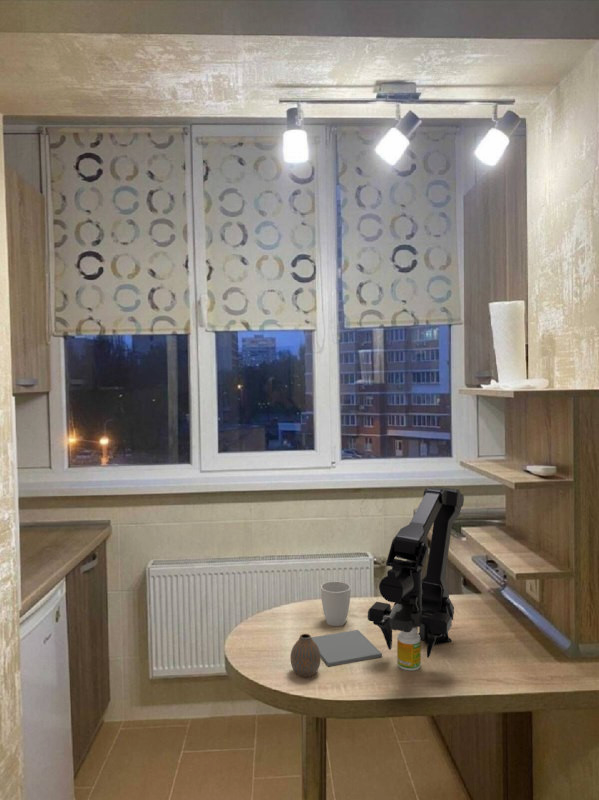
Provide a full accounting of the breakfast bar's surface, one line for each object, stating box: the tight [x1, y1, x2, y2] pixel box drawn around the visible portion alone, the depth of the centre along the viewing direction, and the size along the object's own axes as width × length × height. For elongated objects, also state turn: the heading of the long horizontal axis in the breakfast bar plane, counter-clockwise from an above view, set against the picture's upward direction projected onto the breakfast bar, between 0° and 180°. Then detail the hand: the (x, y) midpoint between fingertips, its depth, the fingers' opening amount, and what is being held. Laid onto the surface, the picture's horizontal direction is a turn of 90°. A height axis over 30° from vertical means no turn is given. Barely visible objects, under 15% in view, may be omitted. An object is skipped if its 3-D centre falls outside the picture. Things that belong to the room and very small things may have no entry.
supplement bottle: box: [396, 627, 422, 672], centre depth 144 cm, size 5×5×10 cm
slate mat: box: [311, 629, 383, 667], centre depth 153 cm, size 14×14×1 cm
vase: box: [290, 633, 322, 678], centre depth 141 cm, size 7×7×9 cm
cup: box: [320, 580, 351, 627], centre depth 168 cm, size 8×8×10 cm
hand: (409, 652), depth 144 cm, fingers open, 9 cm apart
